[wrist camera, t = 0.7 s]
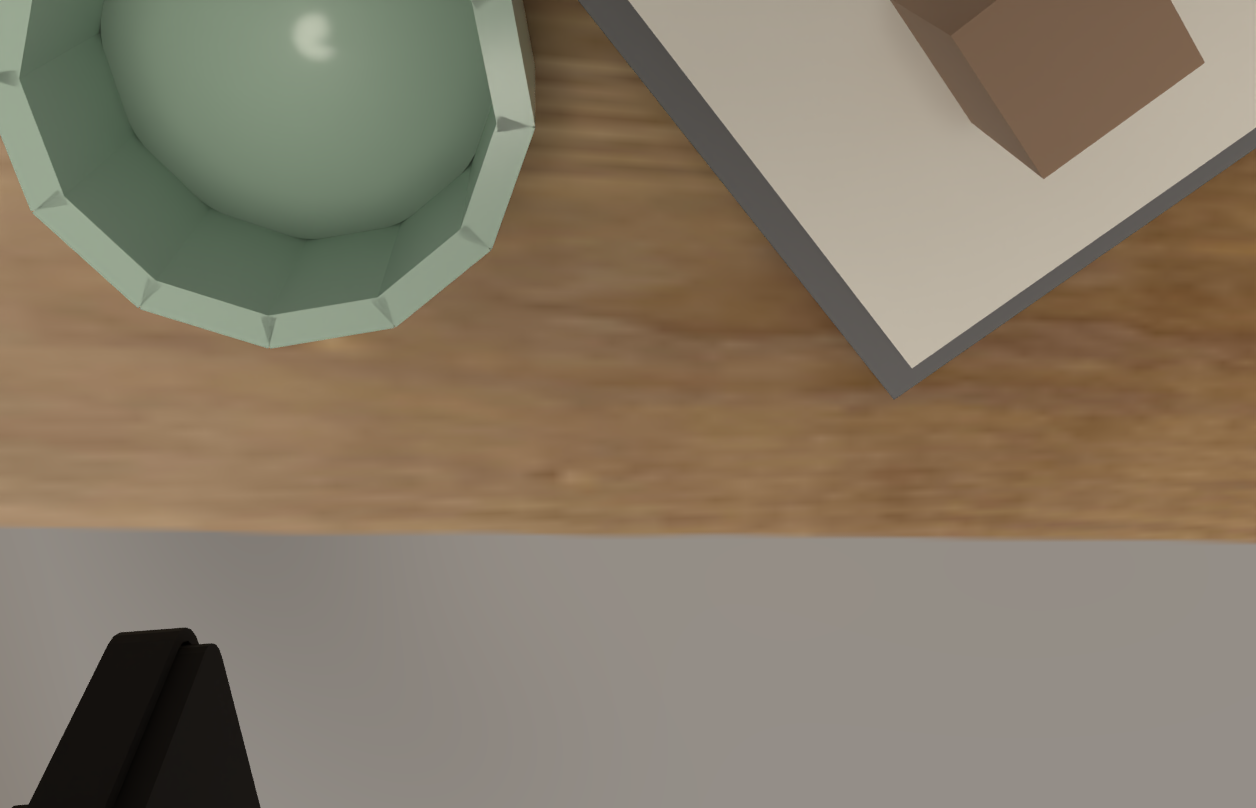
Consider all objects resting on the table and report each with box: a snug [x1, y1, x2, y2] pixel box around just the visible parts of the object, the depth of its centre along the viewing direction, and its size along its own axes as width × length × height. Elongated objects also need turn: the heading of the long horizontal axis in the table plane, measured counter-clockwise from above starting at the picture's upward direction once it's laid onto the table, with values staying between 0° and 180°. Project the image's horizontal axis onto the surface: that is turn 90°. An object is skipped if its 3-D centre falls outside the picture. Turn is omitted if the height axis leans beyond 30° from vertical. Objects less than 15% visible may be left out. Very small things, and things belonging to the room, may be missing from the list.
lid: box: [628, 0, 1256, 368], centre depth 28 cm, size 14×14×6 cm
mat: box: [578, 0, 1256, 399], centre depth 31 cm, size 16×16×1 cm
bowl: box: [0, 0, 535, 349], centre depth 28 cm, size 11×11×6 cm
